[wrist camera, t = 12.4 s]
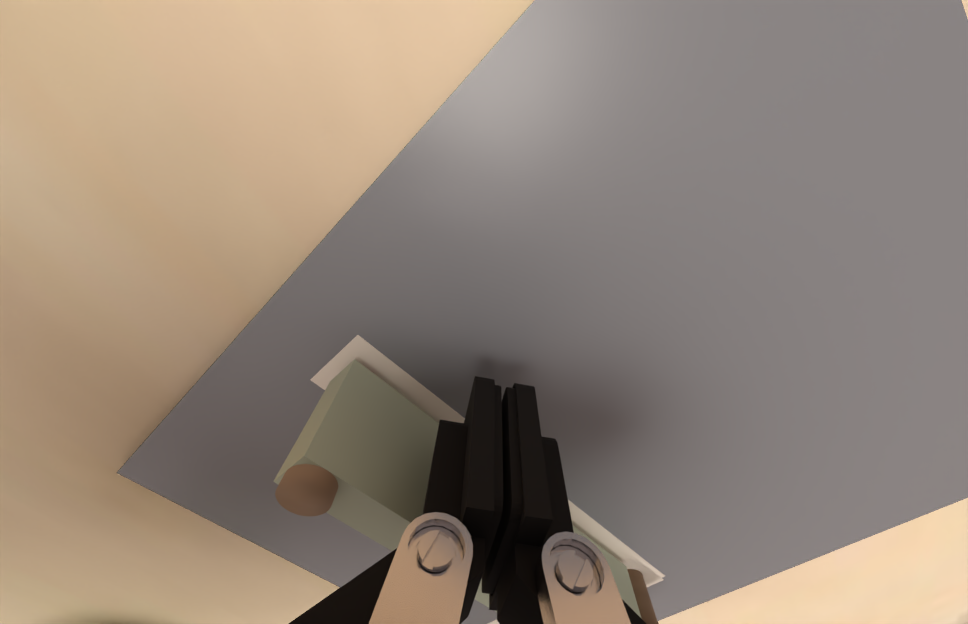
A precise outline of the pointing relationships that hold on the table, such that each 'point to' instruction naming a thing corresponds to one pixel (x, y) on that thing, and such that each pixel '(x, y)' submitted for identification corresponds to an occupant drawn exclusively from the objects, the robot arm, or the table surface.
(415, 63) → the table surface
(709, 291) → the card
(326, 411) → the bar
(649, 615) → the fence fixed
